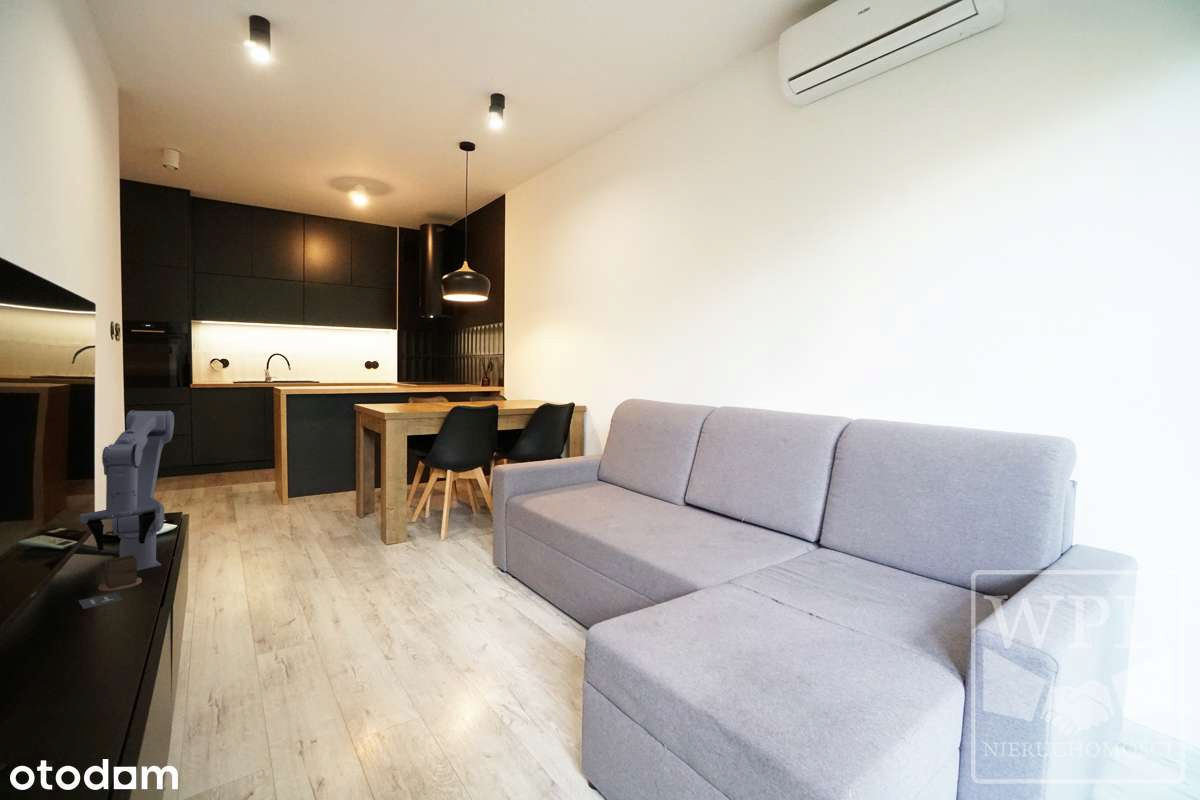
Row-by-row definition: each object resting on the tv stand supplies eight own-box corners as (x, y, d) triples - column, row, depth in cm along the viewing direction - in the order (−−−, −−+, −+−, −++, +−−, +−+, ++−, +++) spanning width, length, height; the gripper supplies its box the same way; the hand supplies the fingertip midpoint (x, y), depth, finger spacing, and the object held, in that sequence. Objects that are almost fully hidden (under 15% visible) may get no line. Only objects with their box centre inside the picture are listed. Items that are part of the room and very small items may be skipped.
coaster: (95, 585, 128) (95, 583, 128) (137, 576, 135) (137, 574, 135) (102, 594, 124) (102, 592, 124) (145, 585, 130) (145, 582, 130)
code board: (72, 601, 120) (72, 600, 120) (119, 591, 126) (119, 590, 126) (79, 612, 114) (79, 611, 114) (127, 601, 121) (127, 599, 121)
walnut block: (105, 583, 129) (105, 559, 128) (131, 577, 133) (131, 554, 132) (109, 588, 126) (109, 564, 125) (136, 583, 130) (136, 559, 129)
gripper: (84, 499, 120) (83, 556, 121) (163, 490, 132) (163, 543, 132) (78, 494, 125) (78, 550, 125) (156, 486, 136) (155, 537, 137)
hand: (121, 546), depth 129 cm, fingers open, 7 cm apart
